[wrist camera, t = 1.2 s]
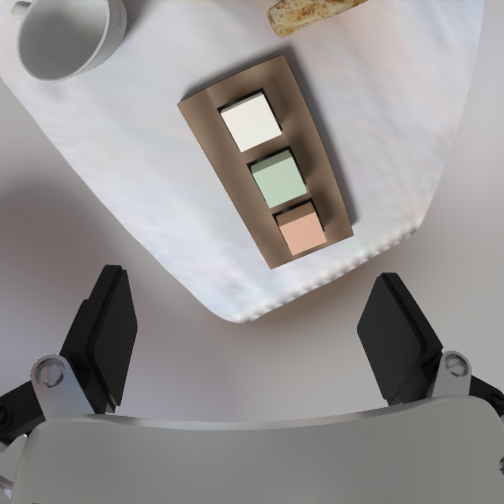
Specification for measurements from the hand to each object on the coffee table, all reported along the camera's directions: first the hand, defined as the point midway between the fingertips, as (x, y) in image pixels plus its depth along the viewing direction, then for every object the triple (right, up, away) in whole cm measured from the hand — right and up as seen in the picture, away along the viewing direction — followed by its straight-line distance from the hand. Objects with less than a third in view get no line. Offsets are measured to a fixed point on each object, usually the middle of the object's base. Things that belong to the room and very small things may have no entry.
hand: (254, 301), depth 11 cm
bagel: (+6, +27, +13) cm, 31 cm away
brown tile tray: (+3, +11, +24) cm, 27 cm away
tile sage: (+3, +10, +22) cm, 25 cm away
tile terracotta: (+6, +5, +26) cm, 27 cm away
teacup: (-19, +27, +12) cm, 35 cm away
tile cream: (0, +15, +19) cm, 24 cm away
